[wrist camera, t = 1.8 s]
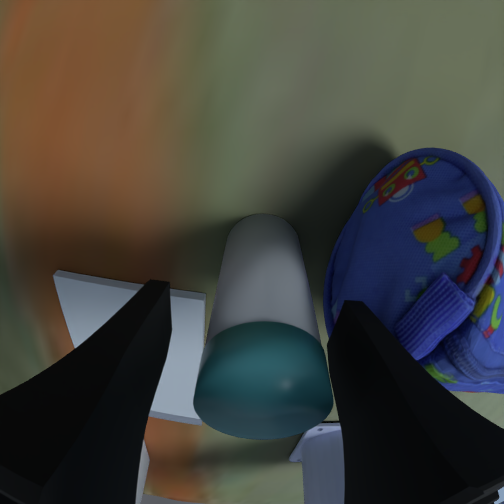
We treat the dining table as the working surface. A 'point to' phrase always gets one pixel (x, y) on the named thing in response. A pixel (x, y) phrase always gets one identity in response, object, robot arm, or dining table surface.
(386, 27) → the dining table surface
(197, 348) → the note pad
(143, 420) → the robot arm
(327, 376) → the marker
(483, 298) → the pencil case
